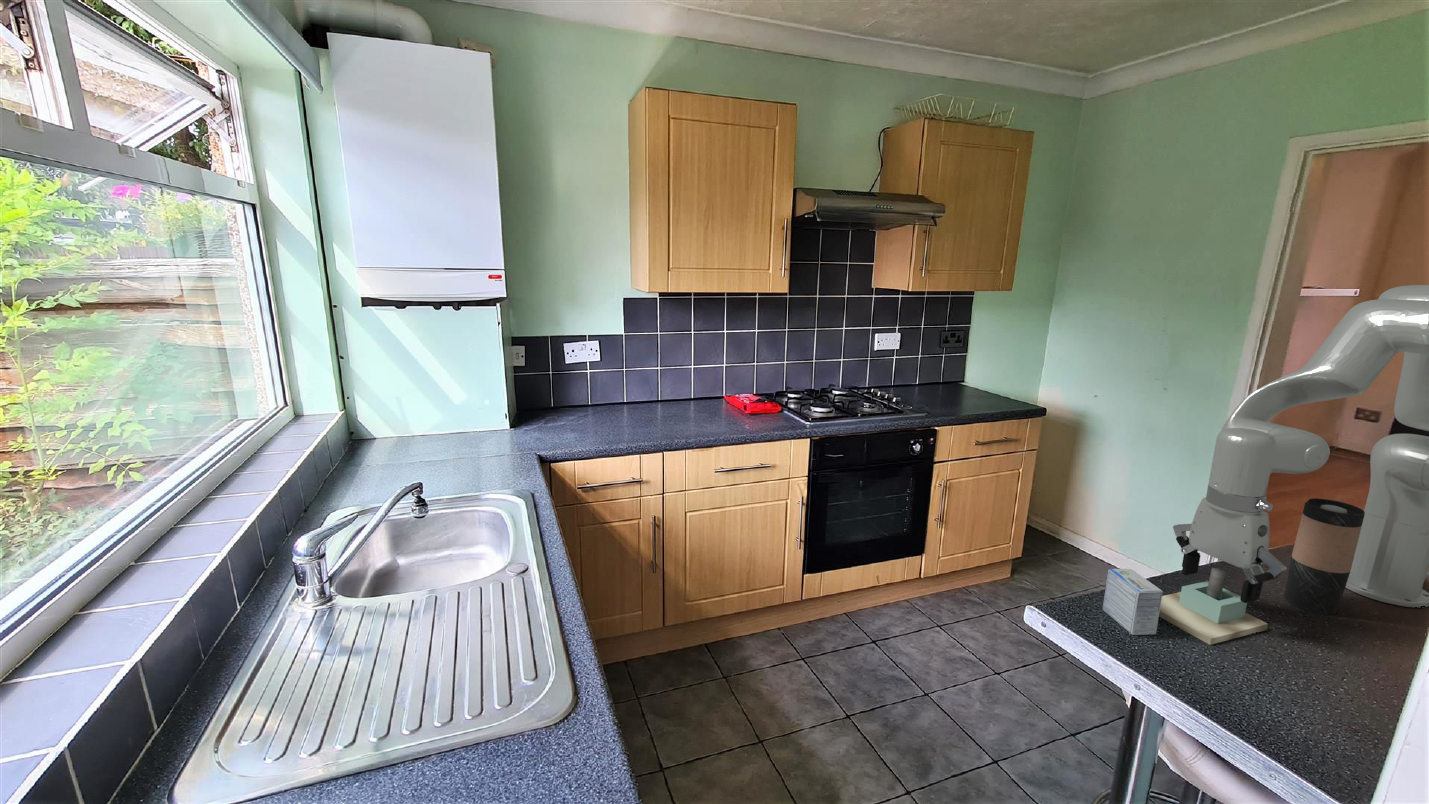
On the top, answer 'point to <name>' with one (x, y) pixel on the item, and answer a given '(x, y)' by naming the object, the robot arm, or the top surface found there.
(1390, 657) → the top surface
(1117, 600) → the medicine box
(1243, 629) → the board
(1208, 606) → the ring
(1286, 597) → the travel mug
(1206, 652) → the top surface
